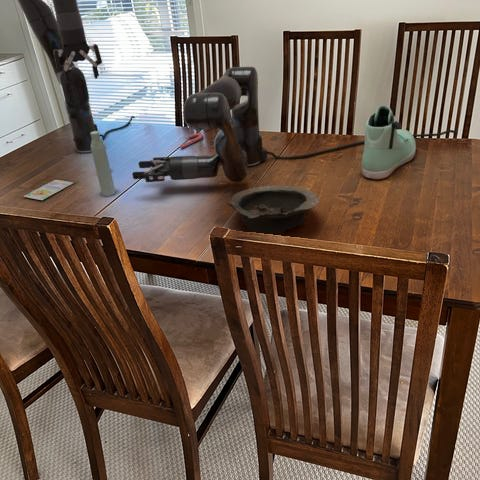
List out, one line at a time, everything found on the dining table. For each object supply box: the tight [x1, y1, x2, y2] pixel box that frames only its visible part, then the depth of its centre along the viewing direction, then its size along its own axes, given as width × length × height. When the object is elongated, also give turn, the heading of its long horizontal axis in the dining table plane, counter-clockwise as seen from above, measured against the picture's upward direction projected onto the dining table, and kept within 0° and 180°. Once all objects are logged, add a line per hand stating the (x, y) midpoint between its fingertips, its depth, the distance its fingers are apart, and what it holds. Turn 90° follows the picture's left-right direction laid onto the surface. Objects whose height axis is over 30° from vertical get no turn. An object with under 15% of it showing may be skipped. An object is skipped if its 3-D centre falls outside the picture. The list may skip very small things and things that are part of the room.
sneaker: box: [361, 105, 417, 180], centre depth 160 cm, size 14×34×20 cm, turn 152°
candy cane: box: [179, 133, 204, 149], centre depth 196 cm, size 6×15×2 cm, turn 145°
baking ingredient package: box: [23, 179, 74, 201], centre depth 165 cm, size 9×1×15 cm
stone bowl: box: [226, 184, 320, 236], centre depth 133 cm, size 25×25×9 cm
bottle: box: [90, 130, 116, 197], centre depth 154 cm, size 4×4×21 cm
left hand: (83, 80), depth 158 cm, fingers open, 8 cm apart
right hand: (136, 170), depth 155 cm, fingers open, 8 cm apart
